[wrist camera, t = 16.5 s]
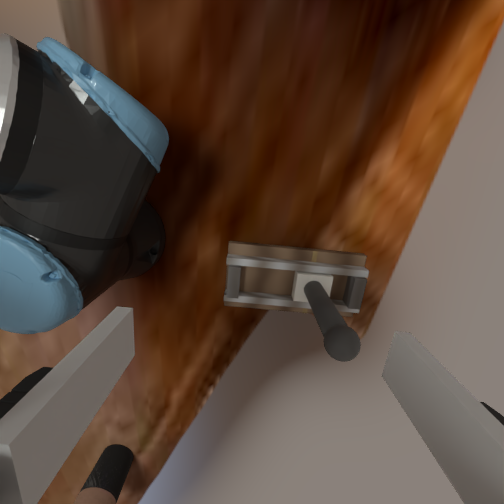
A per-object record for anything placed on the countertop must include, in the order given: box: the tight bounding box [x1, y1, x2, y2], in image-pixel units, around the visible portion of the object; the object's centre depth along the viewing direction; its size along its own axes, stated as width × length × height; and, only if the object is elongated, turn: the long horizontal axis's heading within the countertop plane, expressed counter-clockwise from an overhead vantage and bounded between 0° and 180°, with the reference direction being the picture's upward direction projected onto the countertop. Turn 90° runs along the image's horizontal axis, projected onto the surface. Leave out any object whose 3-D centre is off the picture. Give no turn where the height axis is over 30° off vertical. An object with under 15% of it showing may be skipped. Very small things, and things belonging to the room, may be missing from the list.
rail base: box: [224, 241, 369, 317], centre depth 45 cm, size 24×12×4 cm, turn 84°
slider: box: [292, 271, 360, 361], centre depth 37 cm, size 6×5×19 cm
